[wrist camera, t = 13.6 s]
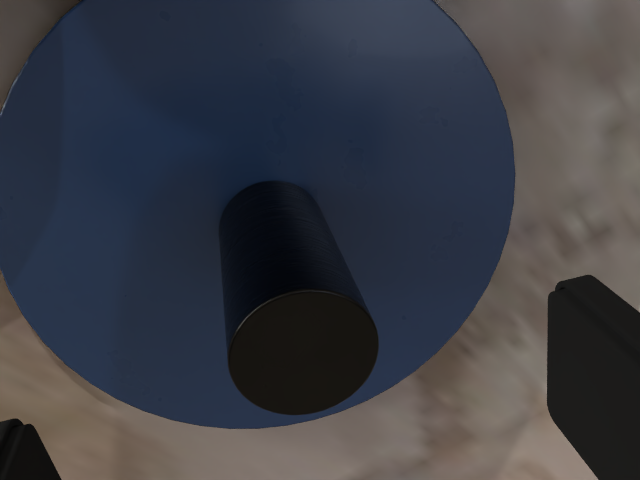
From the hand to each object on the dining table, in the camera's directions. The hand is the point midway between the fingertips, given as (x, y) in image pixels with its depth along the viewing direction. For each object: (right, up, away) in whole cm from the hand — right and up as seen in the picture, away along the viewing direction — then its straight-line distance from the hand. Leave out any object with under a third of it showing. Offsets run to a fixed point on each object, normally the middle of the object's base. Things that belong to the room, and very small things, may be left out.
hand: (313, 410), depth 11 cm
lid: (-1, +4, +7) cm, 8 cm away
